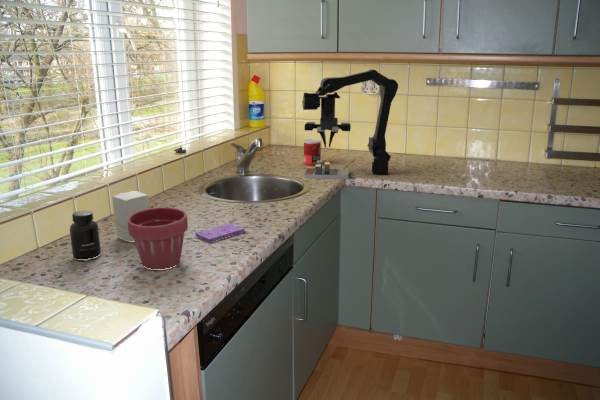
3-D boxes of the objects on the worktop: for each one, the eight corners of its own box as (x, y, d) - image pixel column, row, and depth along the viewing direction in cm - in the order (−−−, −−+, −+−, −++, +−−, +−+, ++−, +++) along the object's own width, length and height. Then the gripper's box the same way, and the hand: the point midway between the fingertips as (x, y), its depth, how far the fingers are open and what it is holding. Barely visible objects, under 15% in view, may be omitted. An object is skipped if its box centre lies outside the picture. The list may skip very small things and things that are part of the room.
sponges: (195, 238, 146) (194, 232, 146) (230, 228, 154) (230, 222, 154) (209, 245, 141) (208, 238, 141) (245, 233, 150) (244, 228, 149)
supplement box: (153, 236, 146) (149, 194, 143) (129, 243, 141) (125, 200, 137) (139, 230, 151) (135, 189, 147) (116, 237, 146) (111, 195, 142)
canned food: (314, 166, 230) (314, 142, 226) (300, 164, 234) (300, 141, 231) (323, 163, 235) (324, 140, 232) (310, 161, 240) (310, 138, 237)
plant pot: (176, 278, 120) (172, 227, 116) (121, 273, 122) (115, 223, 119) (198, 254, 134) (195, 208, 130) (148, 251, 136) (144, 205, 132)
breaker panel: (348, 172, 219) (349, 160, 217) (347, 179, 208) (348, 166, 207) (307, 171, 221) (307, 159, 220) (304, 177, 211) (304, 165, 209)
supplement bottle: (88, 263, 128) (82, 218, 125) (67, 259, 131) (60, 215, 127) (107, 253, 134) (102, 210, 131) (87, 250, 137) (81, 207, 133)
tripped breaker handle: (329, 170, 215) (330, 162, 214) (329, 171, 213) (329, 163, 212) (324, 170, 216) (325, 161, 215) (324, 171, 213) (324, 163, 212)
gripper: (302, 111, 200) (302, 150, 205) (350, 112, 198) (349, 151, 203) (306, 108, 211) (306, 145, 215) (351, 108, 209) (350, 146, 213)
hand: (327, 147), depth 211 cm, fingers closed
